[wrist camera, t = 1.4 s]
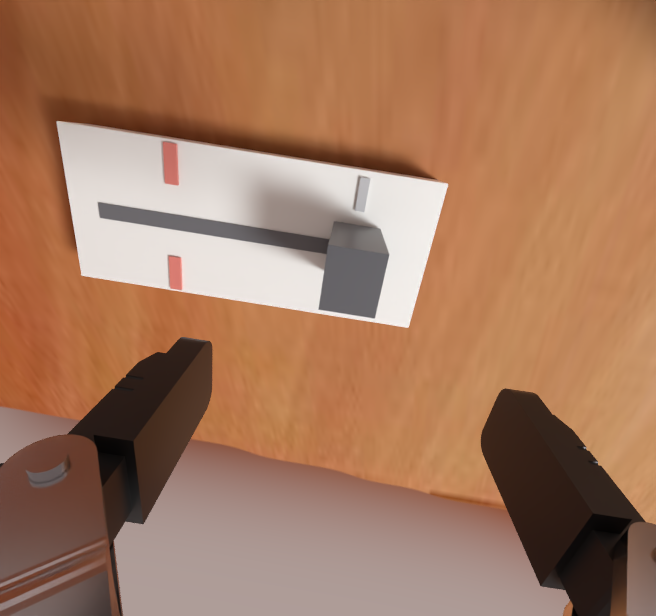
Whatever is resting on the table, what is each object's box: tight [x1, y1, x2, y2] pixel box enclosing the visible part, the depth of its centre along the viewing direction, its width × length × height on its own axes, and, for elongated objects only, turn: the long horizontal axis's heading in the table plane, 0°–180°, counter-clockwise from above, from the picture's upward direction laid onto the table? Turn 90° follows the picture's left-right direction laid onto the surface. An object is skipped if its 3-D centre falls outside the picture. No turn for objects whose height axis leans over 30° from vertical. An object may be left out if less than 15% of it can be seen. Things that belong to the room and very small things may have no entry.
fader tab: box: [318, 221, 389, 319], centre depth 20 cm, size 3×4×6 cm
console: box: [56, 121, 448, 328], centre depth 24 cm, size 24×10×3 cm, turn 82°
